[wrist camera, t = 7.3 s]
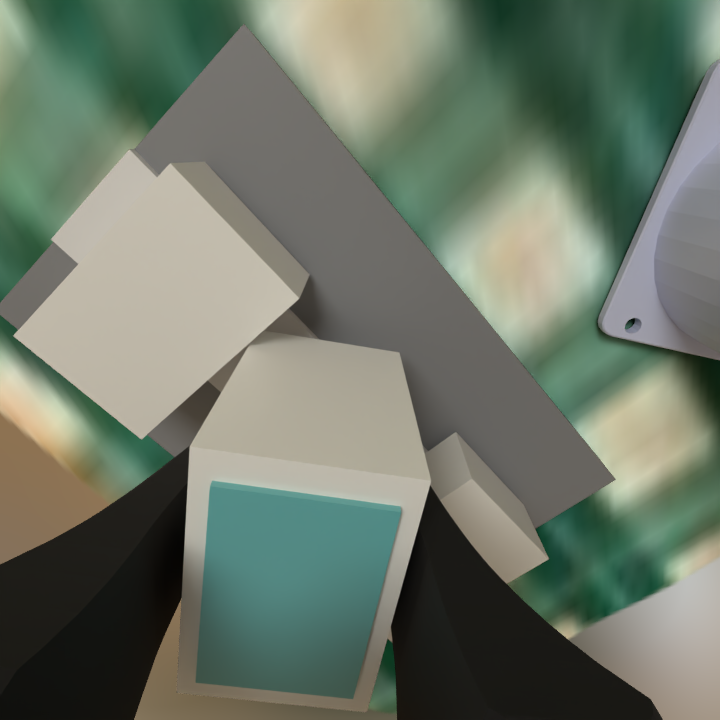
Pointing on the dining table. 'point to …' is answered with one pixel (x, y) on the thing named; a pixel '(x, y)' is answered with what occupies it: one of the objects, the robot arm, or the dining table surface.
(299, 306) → the board
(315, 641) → the module
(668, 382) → the dining table surface
